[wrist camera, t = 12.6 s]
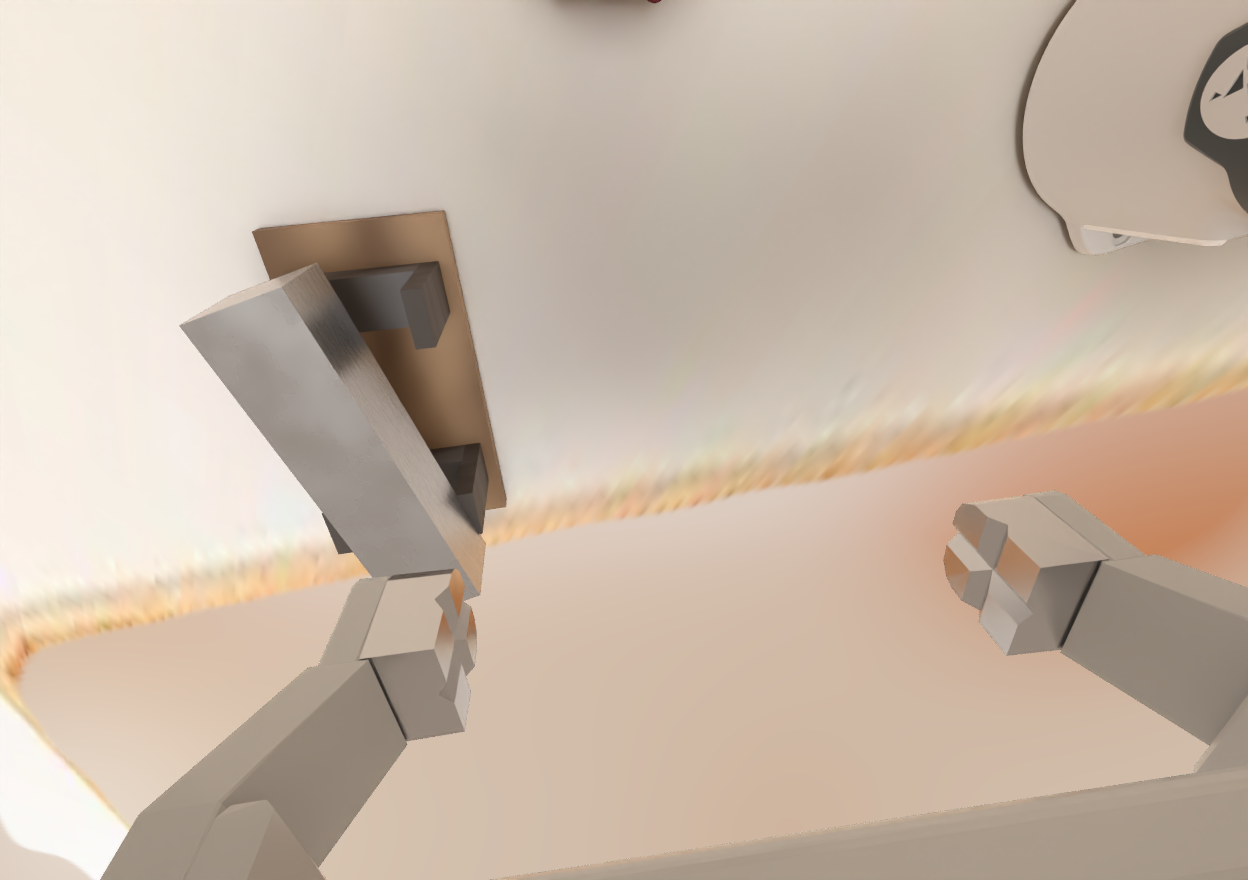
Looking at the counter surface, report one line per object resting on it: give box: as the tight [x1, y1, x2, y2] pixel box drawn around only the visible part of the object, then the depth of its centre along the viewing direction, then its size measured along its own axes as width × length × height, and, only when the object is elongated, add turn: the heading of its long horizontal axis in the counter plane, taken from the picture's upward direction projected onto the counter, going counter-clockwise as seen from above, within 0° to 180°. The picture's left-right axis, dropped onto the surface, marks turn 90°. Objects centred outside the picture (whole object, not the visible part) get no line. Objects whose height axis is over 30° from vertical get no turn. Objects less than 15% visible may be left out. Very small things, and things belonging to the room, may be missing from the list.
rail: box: [179, 263, 486, 601], centre depth 29 cm, size 18×4×4 cm, turn 18°
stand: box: [252, 211, 506, 554], centre depth 34 cm, size 10×20×7 cm, turn 4°
